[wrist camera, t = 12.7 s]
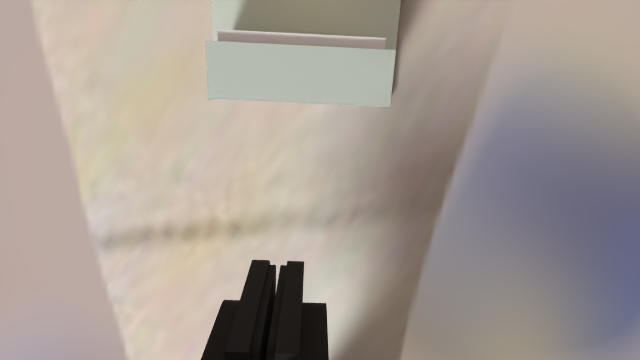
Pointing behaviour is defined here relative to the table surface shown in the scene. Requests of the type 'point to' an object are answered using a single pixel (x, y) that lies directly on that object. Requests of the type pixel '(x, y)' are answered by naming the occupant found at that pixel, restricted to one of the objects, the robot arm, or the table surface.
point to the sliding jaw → (300, 68)
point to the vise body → (310, 17)
